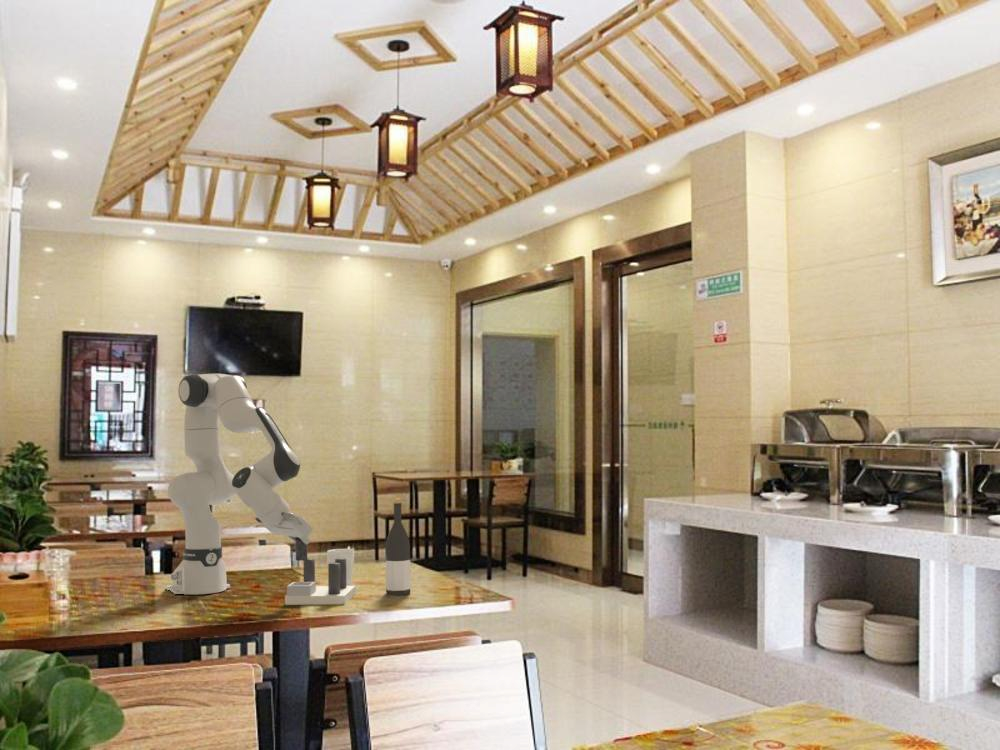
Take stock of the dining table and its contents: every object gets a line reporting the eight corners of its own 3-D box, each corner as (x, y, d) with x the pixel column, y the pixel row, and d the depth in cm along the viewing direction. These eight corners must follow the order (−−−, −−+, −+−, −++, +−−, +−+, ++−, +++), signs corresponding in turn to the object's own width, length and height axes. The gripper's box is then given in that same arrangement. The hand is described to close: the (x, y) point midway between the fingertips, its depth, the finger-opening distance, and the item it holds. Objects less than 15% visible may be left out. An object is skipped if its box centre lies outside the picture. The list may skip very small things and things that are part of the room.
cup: (348, 589, 300) (348, 552, 301) (322, 588, 302) (322, 551, 303) (358, 584, 309) (358, 548, 310) (332, 584, 311) (332, 548, 312)
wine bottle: (406, 596, 286) (405, 499, 288) (381, 595, 288) (381, 499, 290) (414, 591, 294) (413, 497, 296) (390, 591, 296) (389, 497, 298)
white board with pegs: (285, 604, 274) (285, 566, 275) (299, 594, 292) (299, 557, 293) (344, 604, 274) (344, 565, 275) (355, 593, 292) (355, 557, 292)
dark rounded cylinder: (293, 559, 279) (293, 530, 280) (303, 558, 281) (303, 529, 282) (299, 560, 276) (299, 530, 277) (309, 559, 279) (309, 529, 279)
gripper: (299, 505, 268) (328, 536, 274) (264, 502, 282) (292, 531, 289) (286, 522, 264) (315, 553, 270) (251, 518, 279) (279, 547, 285)
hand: (303, 542), depth 280 cm, fingers closed on dark rounded cylinder, 3 cm apart
